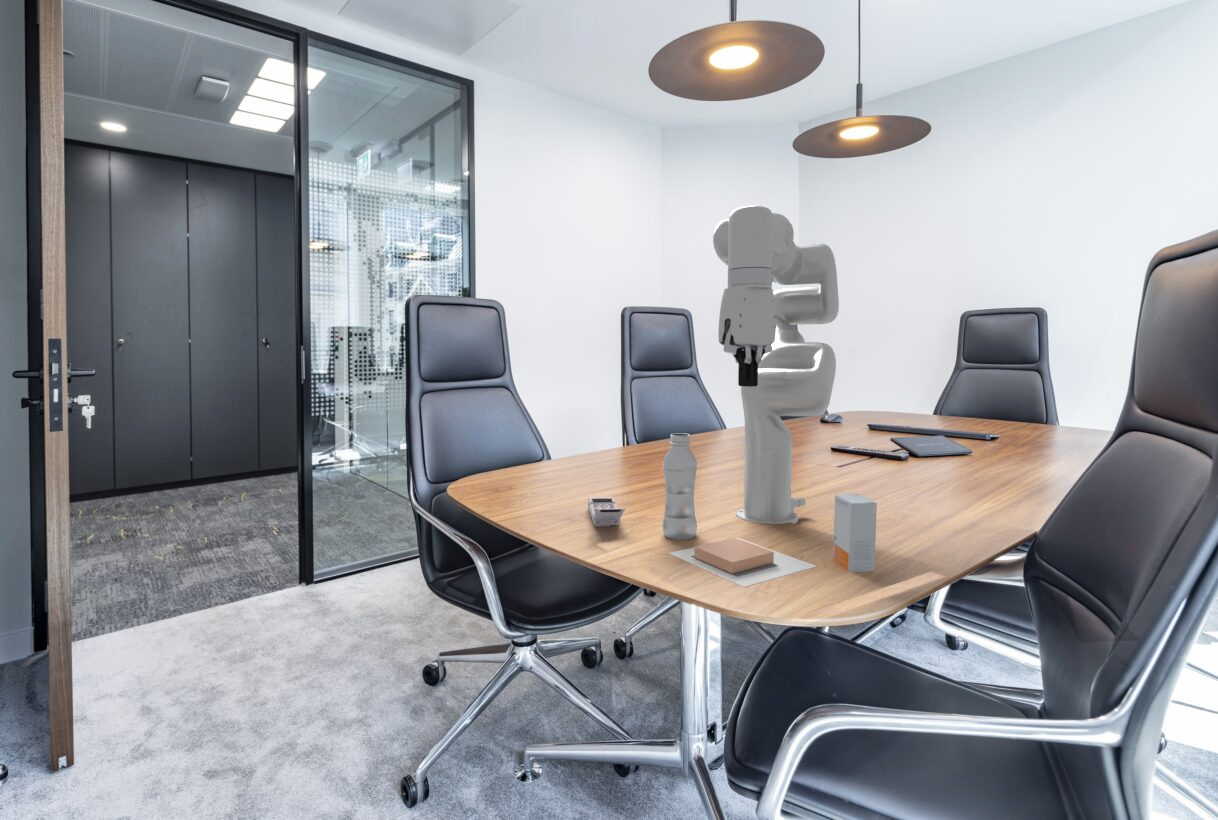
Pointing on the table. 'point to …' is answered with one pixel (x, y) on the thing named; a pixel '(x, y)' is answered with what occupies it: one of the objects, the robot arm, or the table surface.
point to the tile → (733, 555)
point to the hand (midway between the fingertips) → (747, 385)
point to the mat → (751, 576)
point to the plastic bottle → (679, 489)
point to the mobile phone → (604, 511)
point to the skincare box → (854, 532)
